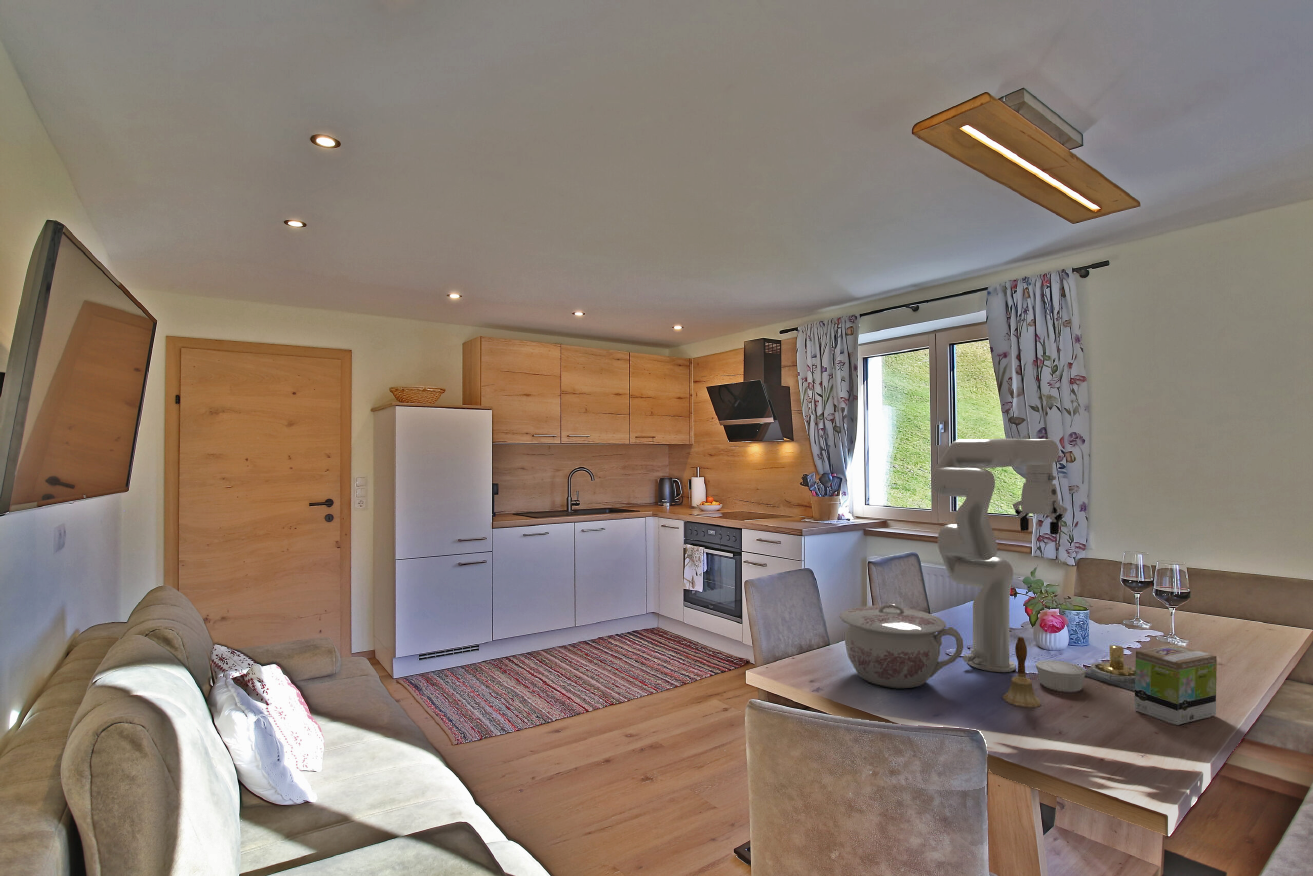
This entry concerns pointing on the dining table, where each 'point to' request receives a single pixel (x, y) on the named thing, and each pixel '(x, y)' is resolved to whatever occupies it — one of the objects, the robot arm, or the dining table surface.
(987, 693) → the dining table surface
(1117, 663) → the planet gear
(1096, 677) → the tray
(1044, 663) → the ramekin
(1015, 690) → the hand bell
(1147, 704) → the tea box
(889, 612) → the chamber pot
